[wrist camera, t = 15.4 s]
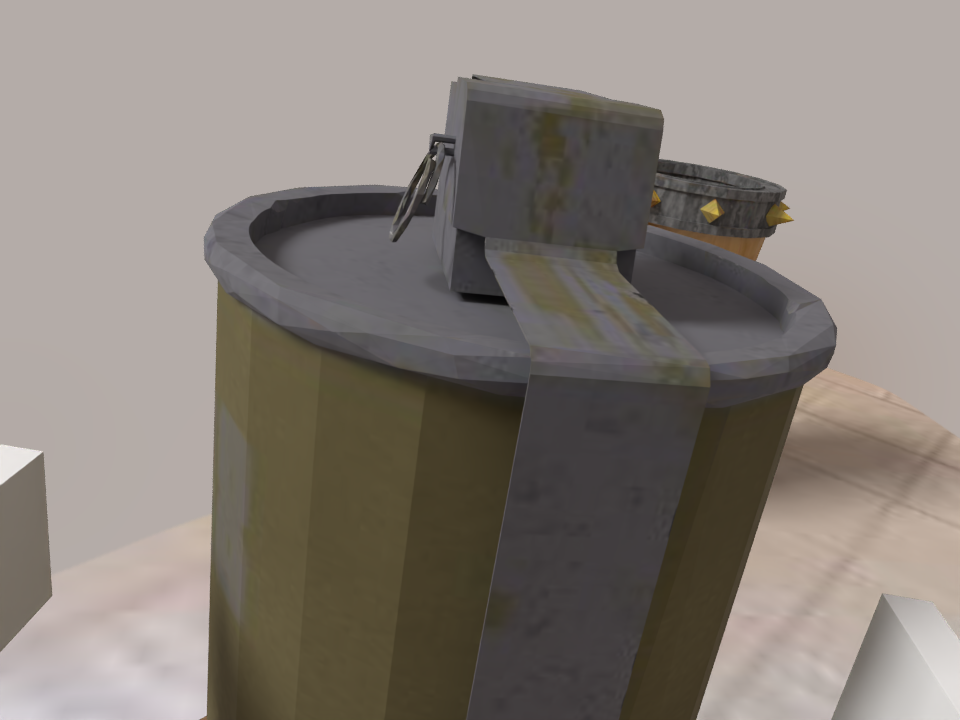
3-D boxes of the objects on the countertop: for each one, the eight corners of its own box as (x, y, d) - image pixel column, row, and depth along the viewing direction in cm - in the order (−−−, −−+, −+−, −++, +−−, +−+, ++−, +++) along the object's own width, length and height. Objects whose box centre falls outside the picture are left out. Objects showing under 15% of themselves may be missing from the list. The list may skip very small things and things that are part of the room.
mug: (750, 475, 56) (837, 192, 49) (626, 570, 43) (719, 206, 36) (597, 406, 63) (653, 152, 56) (453, 470, 50) (501, 152, 43)
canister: (227, 747, 24) (255, 36, 17) (561, 745, 26) (718, 106, 18) (132, 1260, 14) (97, 49, 7) (686, 1196, 16) (1133, 197, 9)
